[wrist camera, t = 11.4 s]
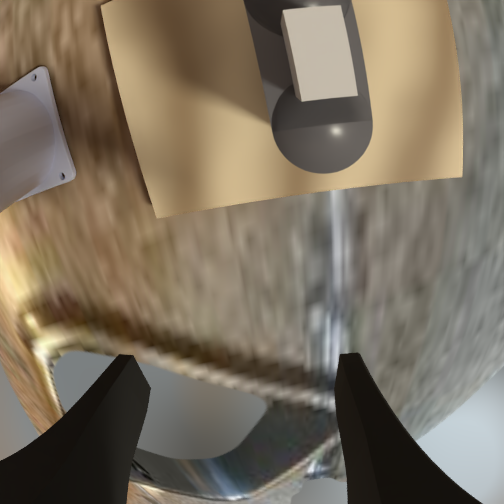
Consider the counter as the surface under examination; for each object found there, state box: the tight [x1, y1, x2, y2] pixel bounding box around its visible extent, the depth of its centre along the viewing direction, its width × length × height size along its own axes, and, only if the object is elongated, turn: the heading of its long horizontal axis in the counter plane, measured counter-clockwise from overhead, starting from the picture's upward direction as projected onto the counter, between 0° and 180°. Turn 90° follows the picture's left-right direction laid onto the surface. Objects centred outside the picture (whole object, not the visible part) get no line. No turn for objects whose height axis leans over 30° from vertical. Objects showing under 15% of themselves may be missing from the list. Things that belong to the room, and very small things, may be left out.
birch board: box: [101, 0, 463, 218], centre depth 14 cm, size 18×13×1 cm
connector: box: [243, 0, 373, 174], centre depth 10 cm, size 3×8×8 cm, turn 11°
